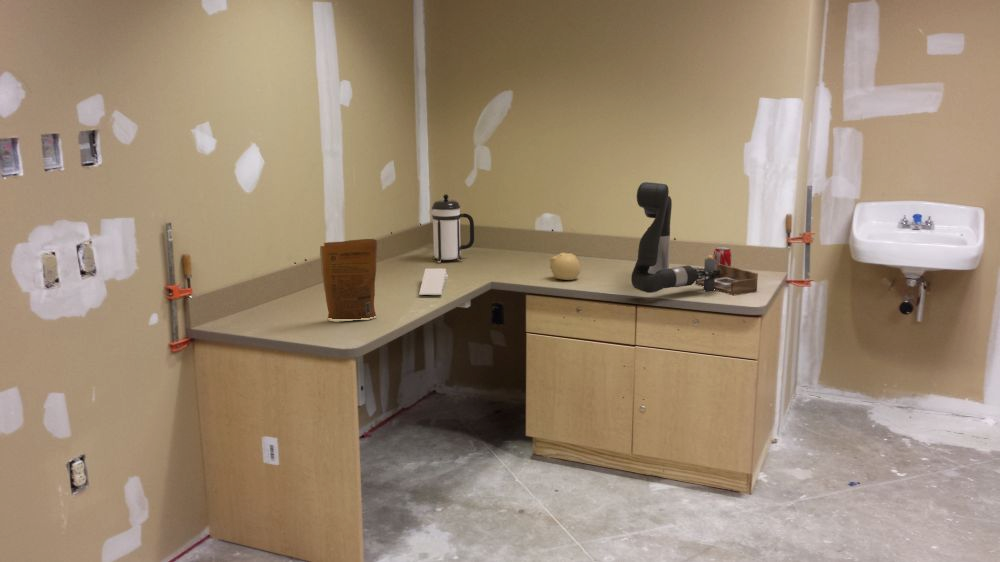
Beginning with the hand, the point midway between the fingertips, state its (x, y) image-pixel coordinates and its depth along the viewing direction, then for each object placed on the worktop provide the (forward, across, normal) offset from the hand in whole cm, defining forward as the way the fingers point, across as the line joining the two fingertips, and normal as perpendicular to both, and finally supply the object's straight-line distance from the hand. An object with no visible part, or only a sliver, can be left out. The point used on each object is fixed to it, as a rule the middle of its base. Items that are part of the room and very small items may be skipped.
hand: (714, 271), depth 340 cm
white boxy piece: (-93, +56, +8) cm, 109 cm away
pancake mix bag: (-136, +28, +7) cm, 139 cm away
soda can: (+18, +16, +7) cm, 25 cm away
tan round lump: (-39, +45, +7) cm, 60 cm away
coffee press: (-63, +104, +7) cm, 122 cm away
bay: (+6, 0, +7) cm, 9 cm away
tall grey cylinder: (-3, 0, +7) cm, 8 cm away
